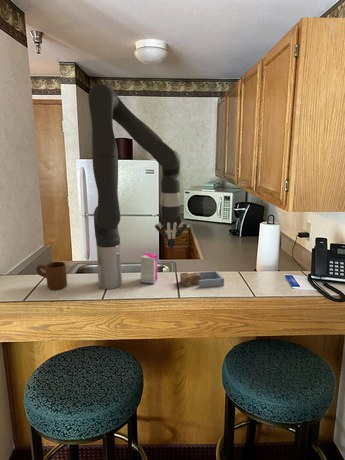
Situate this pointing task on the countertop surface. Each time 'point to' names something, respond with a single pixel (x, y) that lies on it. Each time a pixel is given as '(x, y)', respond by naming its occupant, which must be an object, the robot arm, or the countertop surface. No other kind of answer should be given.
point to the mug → (54, 275)
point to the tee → (189, 279)
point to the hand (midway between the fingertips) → (170, 247)
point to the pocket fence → (210, 282)
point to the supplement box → (148, 268)
